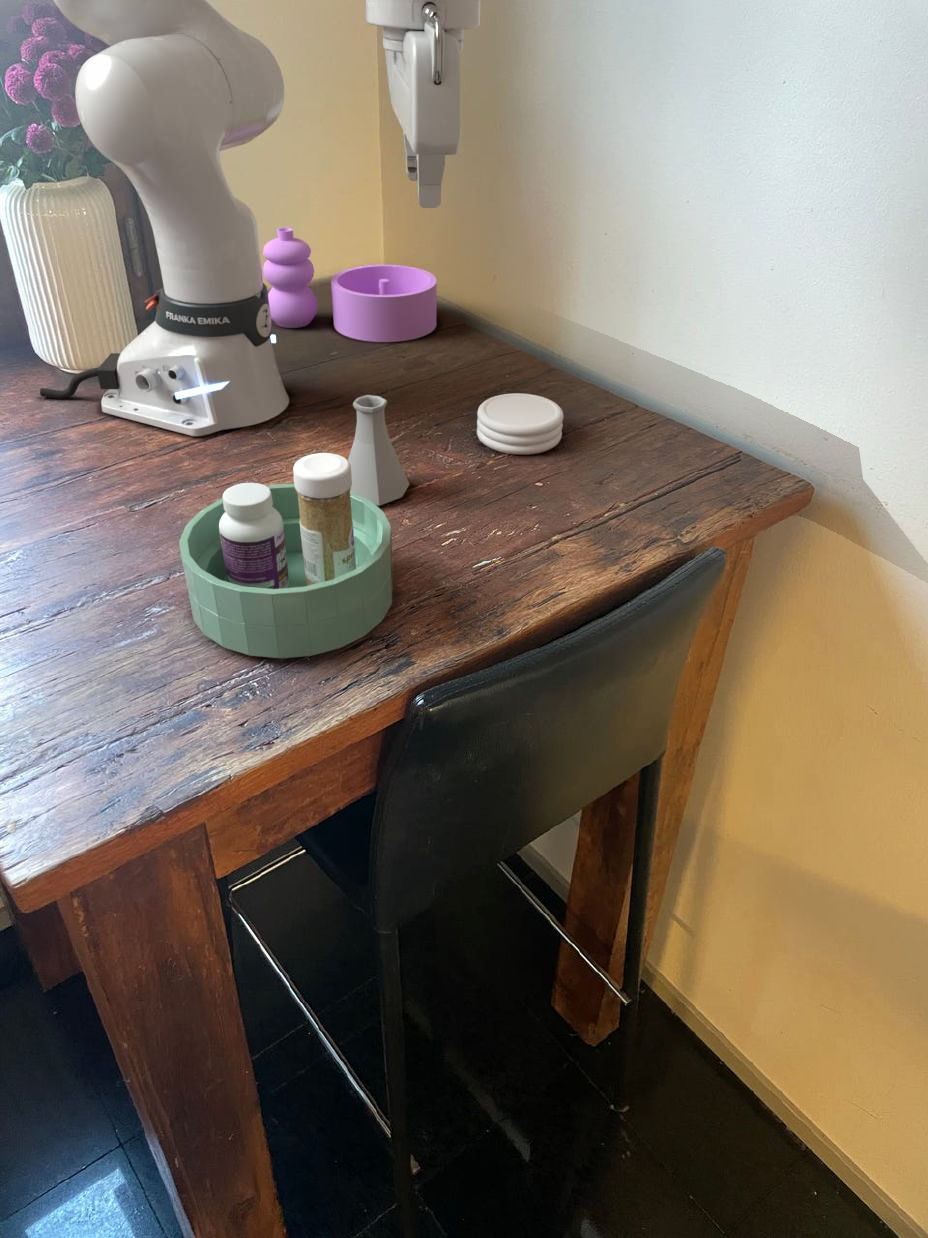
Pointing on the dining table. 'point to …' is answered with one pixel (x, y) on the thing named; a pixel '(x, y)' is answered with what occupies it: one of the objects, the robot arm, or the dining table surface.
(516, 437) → the white round disc stack
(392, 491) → the flask
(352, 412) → the dining table surface
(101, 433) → the dining table surface
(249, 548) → the pill bottle
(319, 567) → the sprinkles bottle
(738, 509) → the dining table surface
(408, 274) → the container set
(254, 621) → the mint green bowl
